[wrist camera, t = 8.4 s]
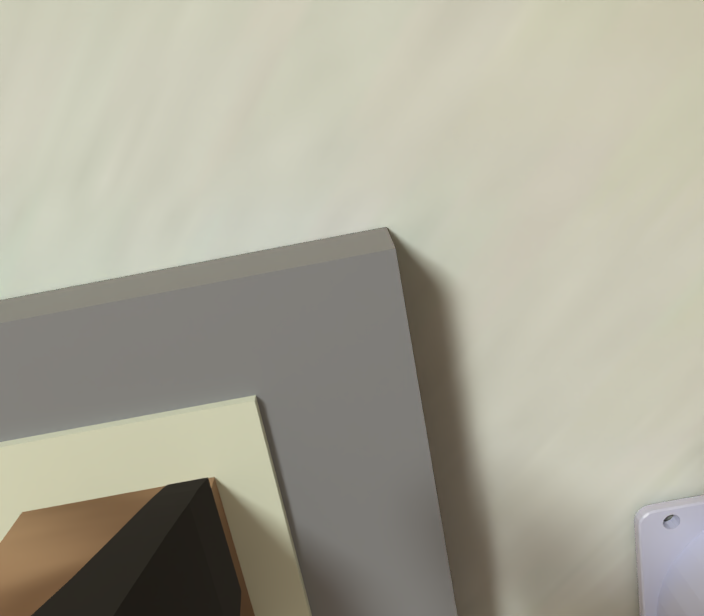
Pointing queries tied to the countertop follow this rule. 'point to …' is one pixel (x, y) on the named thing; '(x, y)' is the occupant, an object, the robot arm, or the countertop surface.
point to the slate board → (242, 416)
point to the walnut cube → (74, 547)
